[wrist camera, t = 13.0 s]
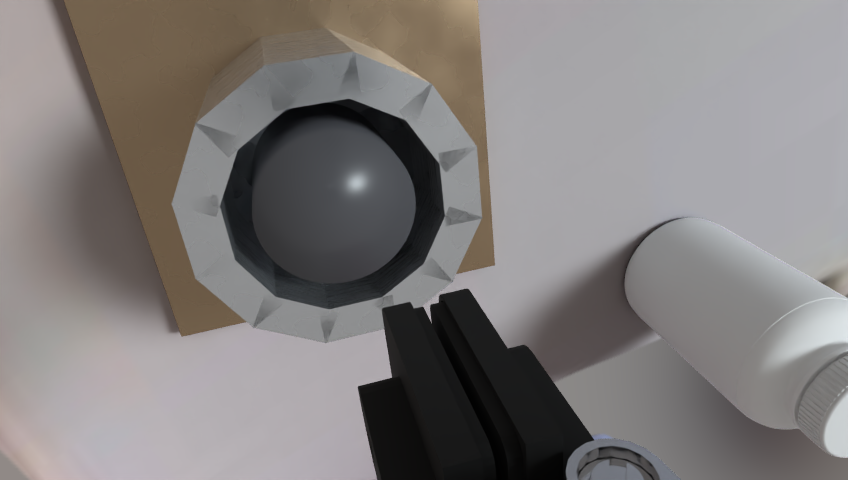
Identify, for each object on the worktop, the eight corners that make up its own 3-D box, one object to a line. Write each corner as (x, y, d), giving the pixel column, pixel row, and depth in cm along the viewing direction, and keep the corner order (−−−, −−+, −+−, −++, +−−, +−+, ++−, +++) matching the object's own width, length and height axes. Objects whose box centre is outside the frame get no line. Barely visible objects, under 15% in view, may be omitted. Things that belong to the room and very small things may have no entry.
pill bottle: (597, 290, 40) (769, 452, 26) (676, 192, 38) (901, 312, 25) (669, 336, 43) (854, 499, 30) (744, 247, 41) (975, 378, 28)
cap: (236, 115, 24) (232, 148, 20) (378, 90, 26) (404, 116, 21) (270, 245, 27) (273, 299, 23) (397, 218, 28) (424, 264, 24)
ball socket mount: (61, -27, 25) (-42, -23, 16) (465, -74, 28) (561, -93, 20) (183, 326, 33) (158, 457, 24) (488, 257, 36) (564, 350, 28)
